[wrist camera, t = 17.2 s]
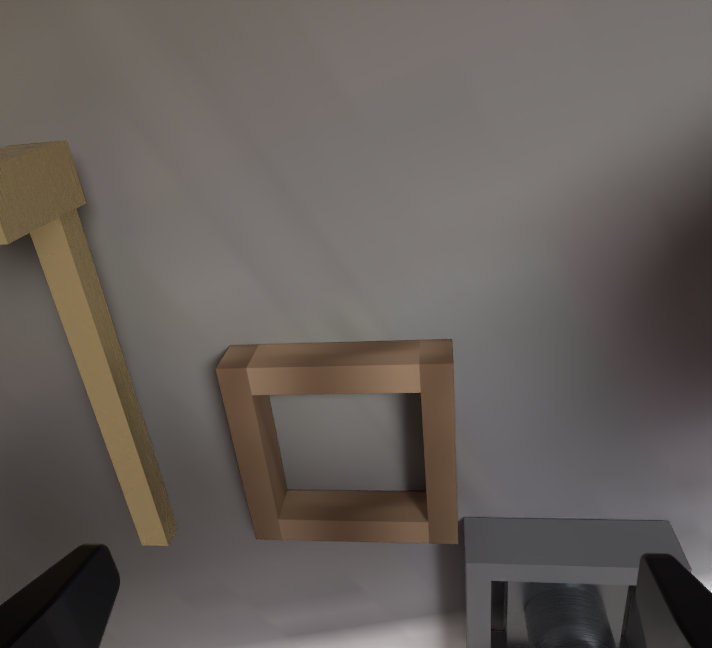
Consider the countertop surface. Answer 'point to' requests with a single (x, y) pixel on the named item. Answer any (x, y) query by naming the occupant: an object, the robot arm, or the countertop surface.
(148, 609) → the countertop surface
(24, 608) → the robot arm
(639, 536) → the frame
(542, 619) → the grey metal knob
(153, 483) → the bar
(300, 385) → the walnut socket
